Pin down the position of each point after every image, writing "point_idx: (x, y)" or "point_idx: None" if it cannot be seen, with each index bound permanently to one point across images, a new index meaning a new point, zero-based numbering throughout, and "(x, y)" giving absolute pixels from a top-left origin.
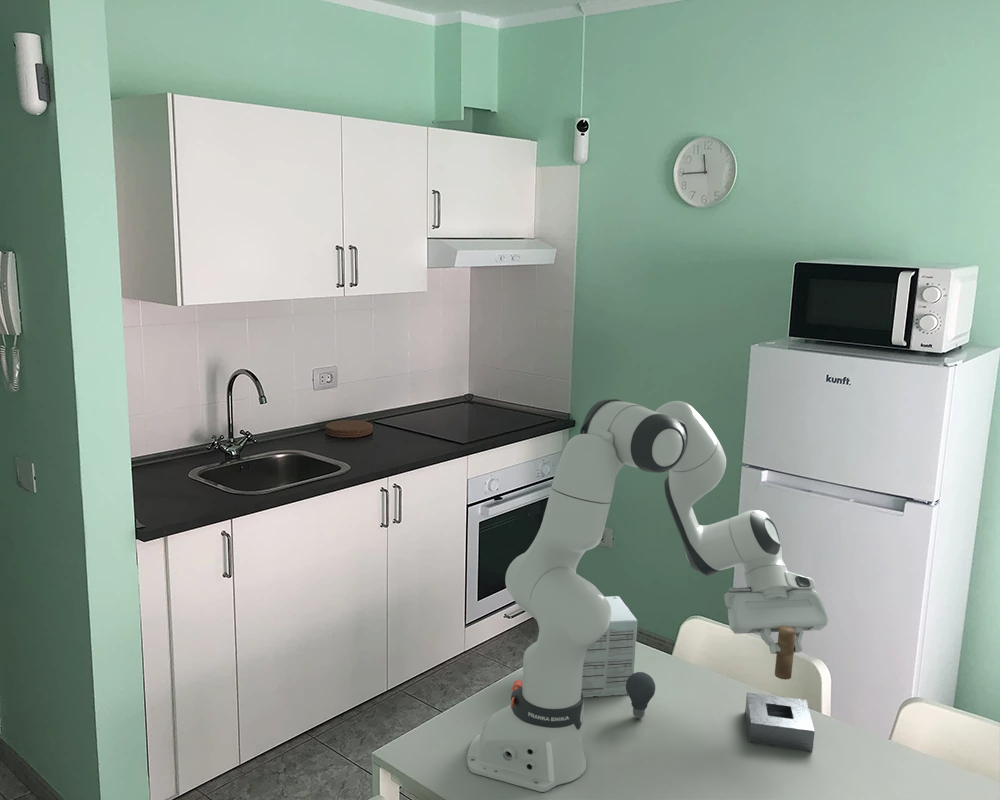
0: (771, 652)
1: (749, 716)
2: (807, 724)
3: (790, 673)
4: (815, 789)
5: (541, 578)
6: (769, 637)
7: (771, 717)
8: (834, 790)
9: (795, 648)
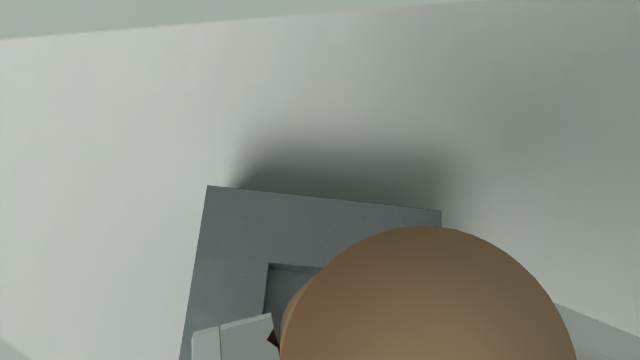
0: None
1: None
2: (222, 228)
3: (296, 292)
4: (263, 25)
5: None
6: (610, 343)
7: None
8: (211, 26)
9: (270, 317)
